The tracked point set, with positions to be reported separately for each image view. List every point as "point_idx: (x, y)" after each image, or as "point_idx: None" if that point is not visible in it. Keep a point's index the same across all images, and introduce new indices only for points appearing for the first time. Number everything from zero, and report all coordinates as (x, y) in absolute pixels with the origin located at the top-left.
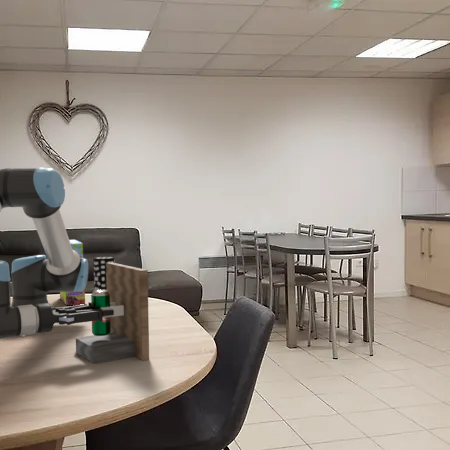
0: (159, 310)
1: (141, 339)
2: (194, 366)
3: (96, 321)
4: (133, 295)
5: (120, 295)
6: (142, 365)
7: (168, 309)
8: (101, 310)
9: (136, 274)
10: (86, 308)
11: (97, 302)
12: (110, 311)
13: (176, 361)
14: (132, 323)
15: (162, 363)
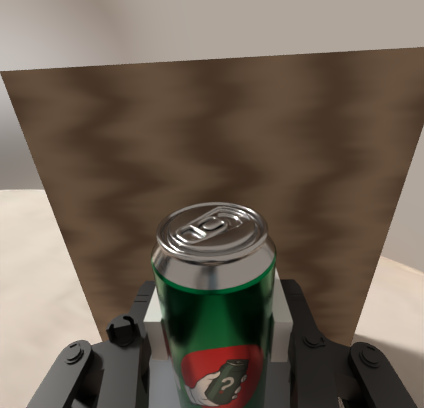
0: (34, 203)
1: (359, 306)
2: (419, 282)
3: (252, 394)
4: (326, 183)
5: (193, 202)
6: (407, 370)
7: (46, 197)
8: (375, 348)
9: (387, 77)
10: (140, 383)
11: (264, 308)
12: (302, 298)
13: (371, 291)
14: (296, 276)
15: (386, 319)
